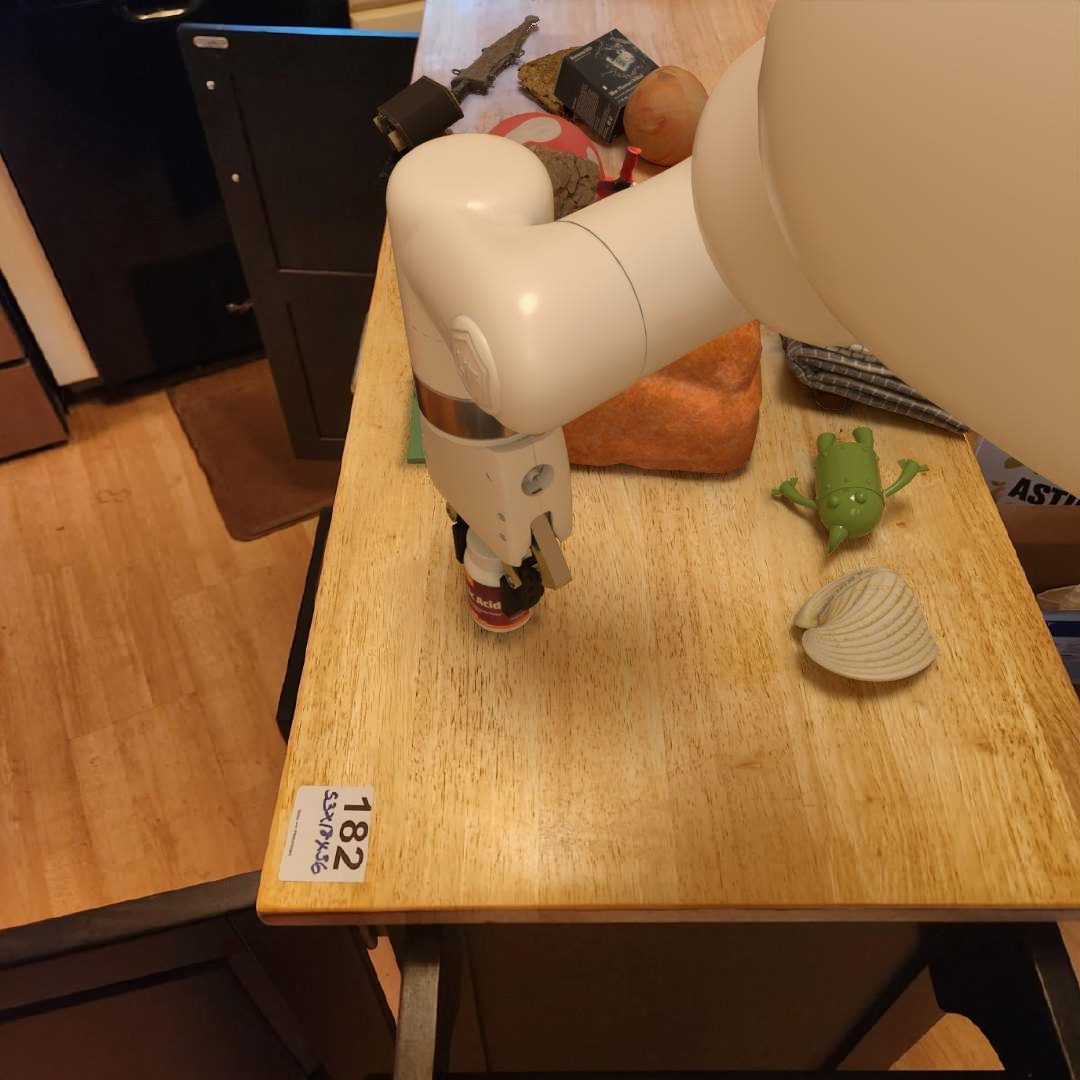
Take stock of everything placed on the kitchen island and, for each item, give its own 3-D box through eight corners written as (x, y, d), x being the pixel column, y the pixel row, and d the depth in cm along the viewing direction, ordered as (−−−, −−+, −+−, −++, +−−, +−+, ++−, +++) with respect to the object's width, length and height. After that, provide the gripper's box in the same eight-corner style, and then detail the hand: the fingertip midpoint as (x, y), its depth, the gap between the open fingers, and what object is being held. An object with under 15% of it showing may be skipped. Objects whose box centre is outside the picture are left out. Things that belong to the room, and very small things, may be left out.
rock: (458, 270, 73) (504, 269, 70) (465, 128, 71) (512, 120, 68) (559, 288, 83) (603, 288, 80) (568, 164, 81) (613, 159, 78)
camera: (450, 122, 110) (396, 160, 110) (420, 69, 106) (364, 109, 106) (481, 143, 96) (419, 186, 97) (447, 84, 92) (383, 129, 93)
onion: (711, 181, 101) (724, 91, 93) (622, 181, 101) (628, 91, 94) (703, 137, 107) (715, 49, 99) (619, 137, 107) (625, 49, 100)
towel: (805, 305, 71) (770, 386, 76) (1036, 374, 69) (984, 451, 75) (817, 227, 82) (786, 302, 87) (1017, 285, 80) (973, 358, 86)
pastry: (500, 114, 111) (499, 89, 109) (533, 52, 122) (532, 28, 119) (639, 129, 109) (641, 104, 106) (660, 64, 119) (662, 40, 117)
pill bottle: (456, 608, 66) (445, 536, 59) (501, 570, 68) (496, 496, 61) (502, 646, 63) (496, 576, 57) (548, 605, 66) (547, 533, 59)
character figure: (915, 396, 69) (939, 516, 61) (923, 441, 72) (947, 560, 65) (762, 429, 73) (767, 545, 66) (777, 471, 77) (783, 585, 70)
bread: (753, 488, 73) (794, 335, 61) (431, 459, 75) (409, 307, 63) (750, 373, 81) (786, 219, 69) (462, 351, 84) (447, 198, 71)
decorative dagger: (558, 7, 124) (460, 111, 107) (559, 26, 125) (463, 131, 109) (510, 4, 126) (407, 104, 109) (512, 22, 128) (411, 124, 111)
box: (620, 107, 101) (561, 55, 102) (607, 146, 106) (551, 96, 107) (673, 75, 105) (615, 25, 106) (658, 114, 110) (603, 66, 111)
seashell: (774, 576, 65) (883, 530, 62) (820, 660, 68) (925, 620, 66) (792, 643, 58) (915, 594, 55) (842, 733, 61) (961, 691, 59)
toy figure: (643, 302, 71) (718, 245, 68) (640, 317, 68) (718, 259, 65) (562, 199, 68) (636, 135, 64) (555, 211, 65) (633, 144, 61)
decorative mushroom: (514, 323, 86) (509, 176, 74) (447, 254, 93) (432, 110, 81) (628, 277, 90) (640, 131, 79) (555, 214, 97) (556, 72, 86)
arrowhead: (456, 147, 105) (398, 184, 100) (456, 153, 106) (398, 190, 101) (415, 130, 108) (356, 165, 103) (416, 136, 108) (357, 172, 103)
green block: (451, 462, 75) (450, 453, 74) (407, 463, 75) (406, 454, 74) (456, 381, 81) (455, 372, 80) (416, 382, 81) (415, 372, 80)
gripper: (640, 438, 46) (619, 632, 60) (455, 278, 54) (476, 481, 68) (520, 506, 43) (528, 693, 57) (345, 326, 51) (390, 528, 66)
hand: (499, 576), depth 63 cm, fingers closed on pill bottle, 4 cm apart
